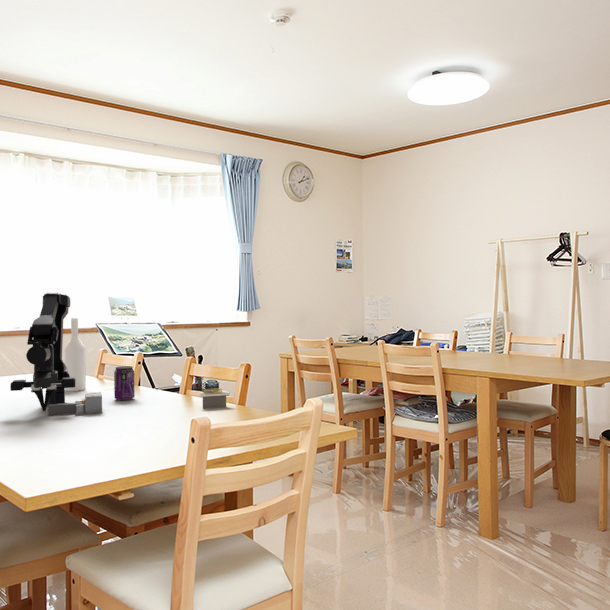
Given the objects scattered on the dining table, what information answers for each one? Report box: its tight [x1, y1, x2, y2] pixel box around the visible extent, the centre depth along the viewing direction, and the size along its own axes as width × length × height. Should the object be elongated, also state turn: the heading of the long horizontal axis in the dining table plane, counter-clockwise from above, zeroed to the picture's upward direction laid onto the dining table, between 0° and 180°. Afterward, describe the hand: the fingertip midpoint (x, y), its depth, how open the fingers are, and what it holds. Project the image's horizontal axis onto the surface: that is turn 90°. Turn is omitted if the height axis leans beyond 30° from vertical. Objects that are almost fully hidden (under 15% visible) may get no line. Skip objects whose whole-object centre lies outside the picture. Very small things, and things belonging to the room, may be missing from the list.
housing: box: [74, 391, 103, 416], centre depth 190 cm, size 8×10×6 cm
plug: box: [47, 398, 85, 416], centre depth 188 cm, size 14×4×4 cm, turn 112°
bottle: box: [64, 317, 87, 392], centre depth 243 cm, size 8×8×30 cm
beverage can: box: [113, 365, 136, 402], centre depth 215 cm, size 7×7×12 cm
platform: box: [199, 387, 230, 410], centre depth 195 cm, size 12×18×7 cm, turn 111°
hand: (44, 410), depth 185 cm, fingers closed
